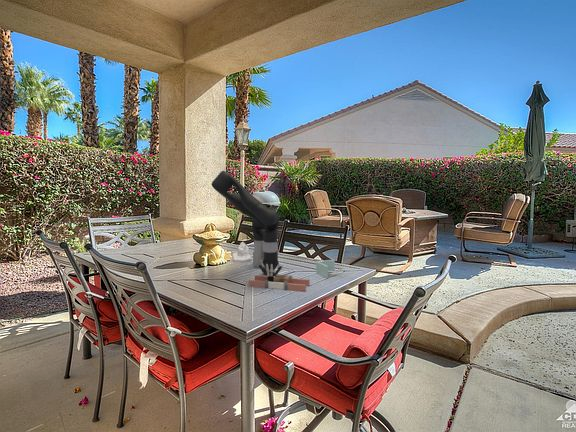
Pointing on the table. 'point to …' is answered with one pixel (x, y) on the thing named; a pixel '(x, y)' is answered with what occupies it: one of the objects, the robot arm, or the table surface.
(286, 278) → the walnut block
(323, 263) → the right angle wall
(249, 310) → the table surface
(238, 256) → the citrus juicer
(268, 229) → the robot arm
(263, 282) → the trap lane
